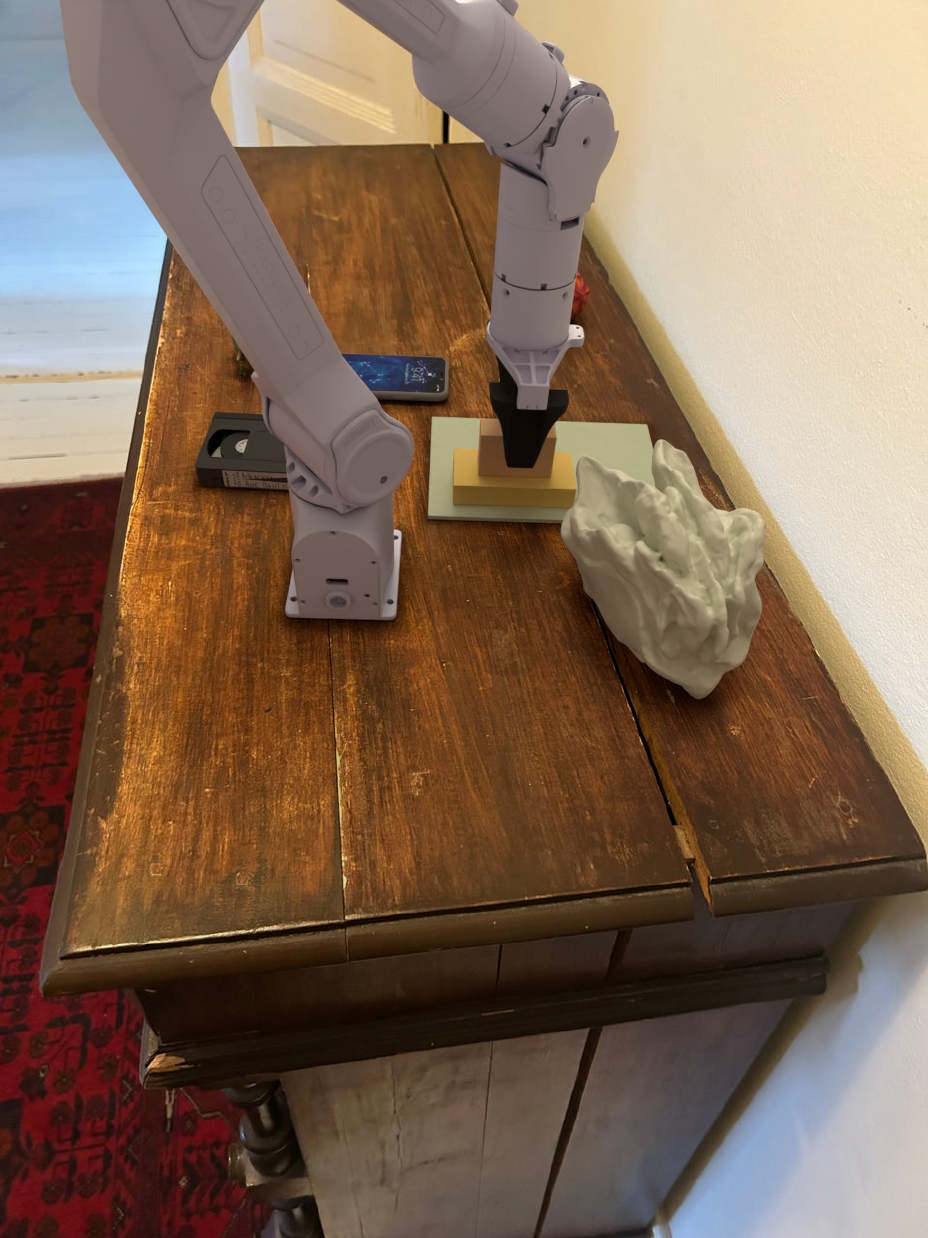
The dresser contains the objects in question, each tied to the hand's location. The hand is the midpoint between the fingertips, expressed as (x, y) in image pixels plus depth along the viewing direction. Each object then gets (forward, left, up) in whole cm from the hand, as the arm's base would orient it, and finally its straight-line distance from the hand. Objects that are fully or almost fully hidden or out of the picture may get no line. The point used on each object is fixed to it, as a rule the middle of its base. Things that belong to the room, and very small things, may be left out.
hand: (517, 435), depth 70 cm
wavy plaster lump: (-14, -9, -6) cm, 18 cm away
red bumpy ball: (+30, -6, -6) cm, 31 cm away
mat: (+3, -3, -6) cm, 7 cm away
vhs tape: (+3, +19, -6) cm, 20 cm away
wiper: (0, 0, -5) cm, 5 cm away
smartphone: (+16, +13, -6) cm, 21 cm away
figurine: (+19, +25, -6) cm, 32 cm away
